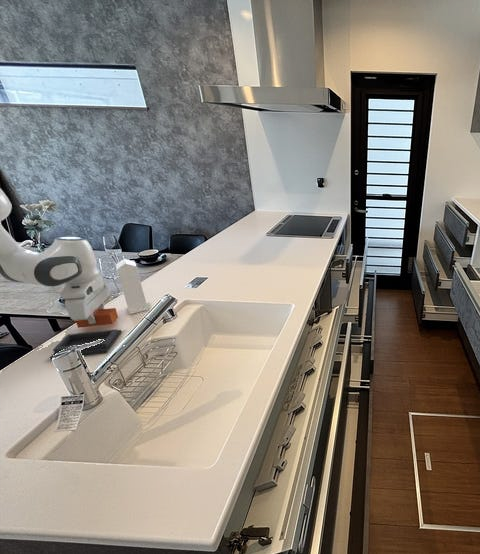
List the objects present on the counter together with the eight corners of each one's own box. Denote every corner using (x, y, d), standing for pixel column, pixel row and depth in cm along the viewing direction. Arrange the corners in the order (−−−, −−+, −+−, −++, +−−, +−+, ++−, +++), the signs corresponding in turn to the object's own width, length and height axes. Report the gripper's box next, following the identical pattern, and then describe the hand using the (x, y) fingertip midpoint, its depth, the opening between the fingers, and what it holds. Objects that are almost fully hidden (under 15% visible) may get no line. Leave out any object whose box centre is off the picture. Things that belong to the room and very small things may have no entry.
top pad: (77, 327, 105) (74, 317, 103) (85, 320, 109) (81, 310, 108) (112, 324, 108) (109, 314, 107) (118, 317, 113) (115, 307, 111)
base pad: (50, 360, 92) (47, 353, 91) (72, 337, 102) (69, 331, 102) (106, 352, 96) (104, 346, 95) (121, 332, 107) (119, 326, 106)
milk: (130, 314, 118) (113, 261, 109) (128, 308, 122) (112, 256, 113) (148, 309, 121) (134, 258, 112) (147, 303, 126) (132, 253, 117)
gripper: (88, 272, 111) (99, 305, 116) (56, 297, 93) (71, 334, 98) (109, 271, 113) (119, 303, 118) (82, 295, 95) (95, 332, 100)
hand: (97, 318), depth 108 cm, fingers closed on top pad, 5 cm apart
